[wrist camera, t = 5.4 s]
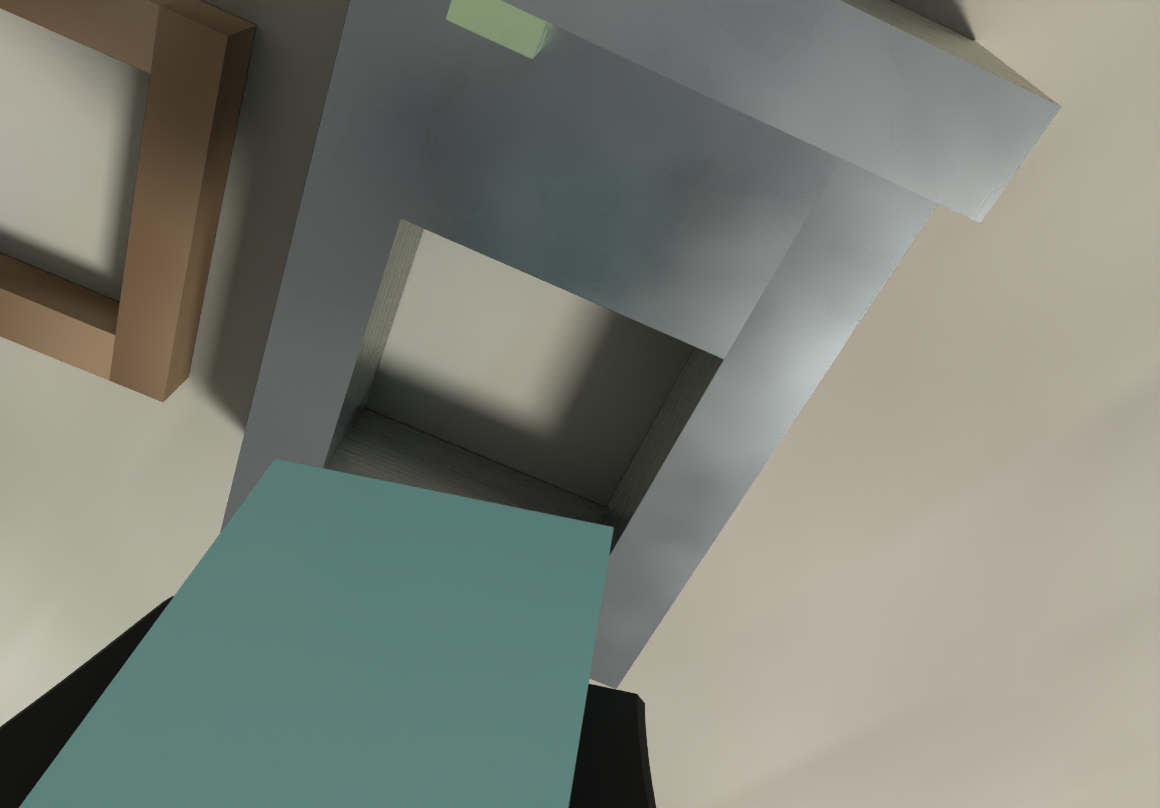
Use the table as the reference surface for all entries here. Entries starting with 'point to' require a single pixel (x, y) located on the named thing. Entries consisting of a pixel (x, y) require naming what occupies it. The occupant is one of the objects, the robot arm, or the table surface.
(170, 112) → the brown square frame
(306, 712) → the plug
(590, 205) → the port
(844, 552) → the table surface
